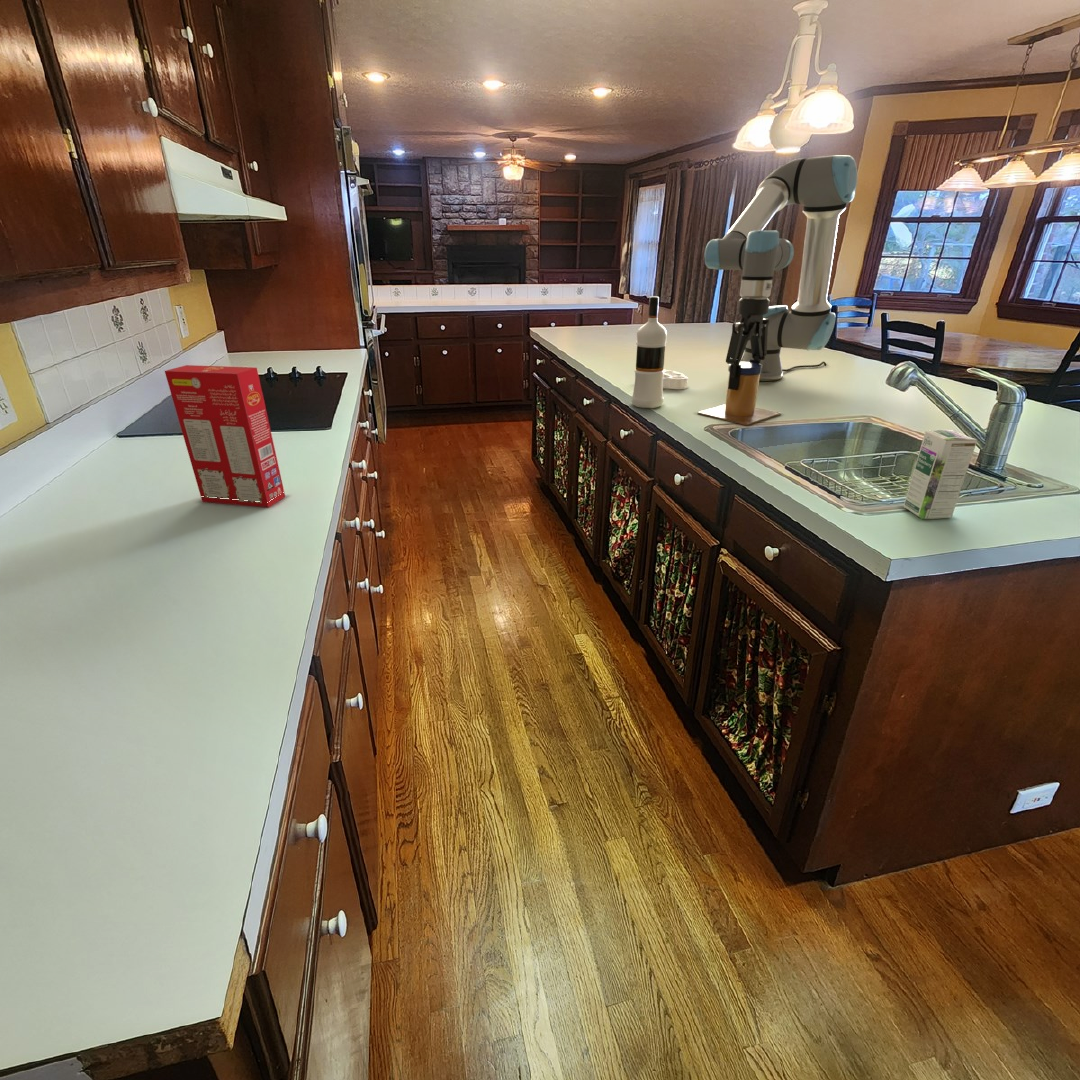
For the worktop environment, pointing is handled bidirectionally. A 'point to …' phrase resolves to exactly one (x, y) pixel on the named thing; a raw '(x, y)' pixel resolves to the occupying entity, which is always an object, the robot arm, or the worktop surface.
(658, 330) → the vodka
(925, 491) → the syrup box
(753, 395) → the jar
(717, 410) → the trivet
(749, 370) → the lid
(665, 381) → the white brass knuckles
